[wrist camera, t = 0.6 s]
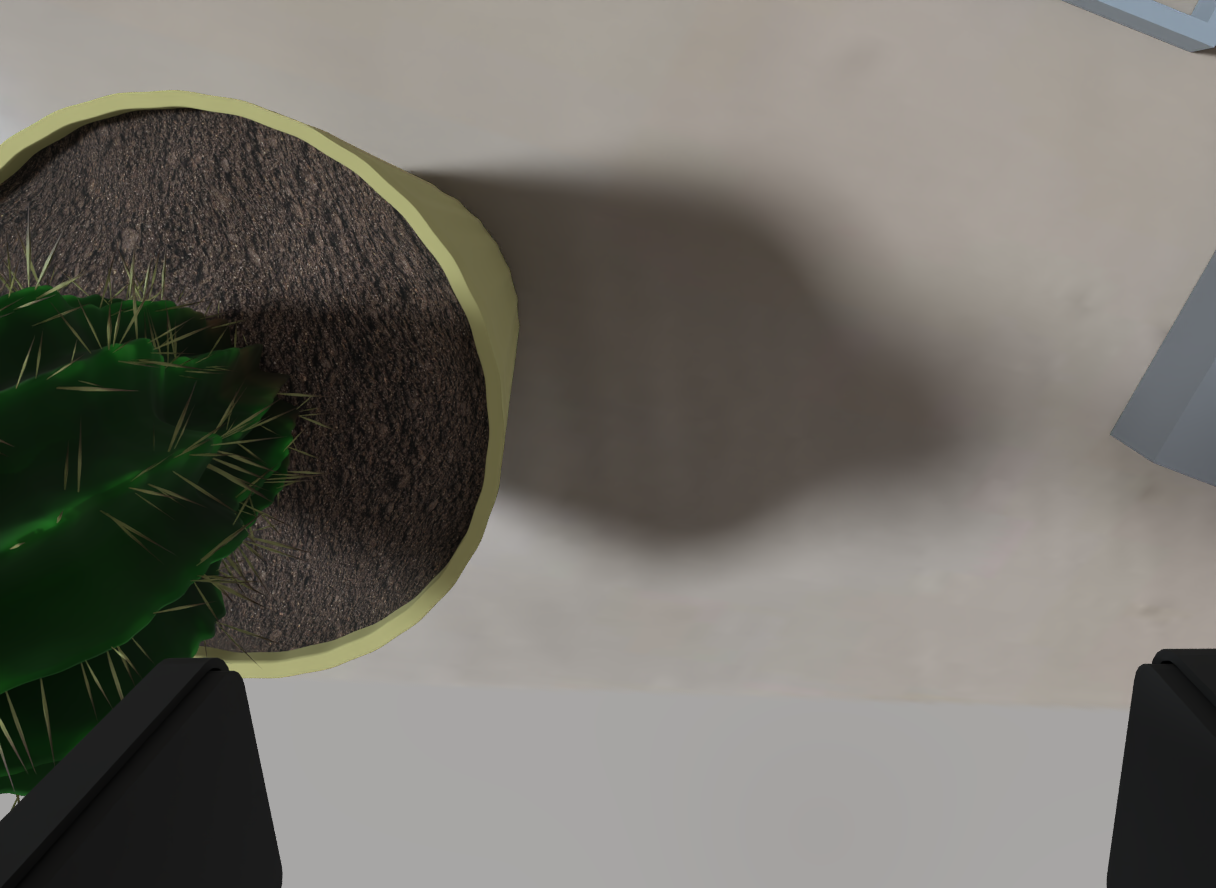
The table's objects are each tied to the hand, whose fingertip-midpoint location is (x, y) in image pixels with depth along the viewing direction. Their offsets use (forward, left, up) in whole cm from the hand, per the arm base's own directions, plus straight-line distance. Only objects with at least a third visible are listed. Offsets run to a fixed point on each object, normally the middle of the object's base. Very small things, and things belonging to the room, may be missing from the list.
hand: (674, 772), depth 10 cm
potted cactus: (+4, -11, -28) cm, 31 cm away
